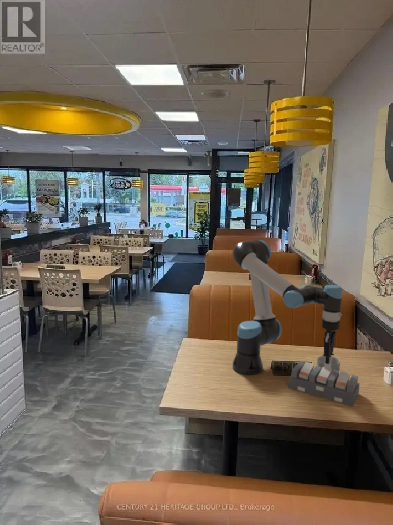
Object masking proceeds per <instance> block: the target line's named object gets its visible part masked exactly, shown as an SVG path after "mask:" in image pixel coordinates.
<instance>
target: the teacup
mask: <svg viewBox="0 0 393 525" xmlns="http://www.w3.org/2000/svg"><path fill="white" fill-rule="evenodd" d="M324 360H325V356H323V354H322V355H320V356H318V357H317V358H316V363H317V364H316V366H319V367H321V369H322V367H324ZM340 367H341V360H340V359H339V358H337V357H335V356H332V361H331V369H332V372H333V371H334V370H335V371H339V372H340V371H341V370H340V369H341V368H340ZM332 372H331V374H332ZM331 374H330V375H331Z"/></svg>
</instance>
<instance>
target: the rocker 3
mask: <svg viewBox="0 0 393 525" xmlns="http://www.w3.org/2000/svg"><path fill="white" fill-rule="evenodd" d="M350 378H351V372H350V371H346V370H339V377H338V379H337V382H336V384H335V388H339V389H343V390H345V389H346V386H347V383H348V380H350Z"/></svg>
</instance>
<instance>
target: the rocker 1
mask: <svg viewBox="0 0 393 525" xmlns="http://www.w3.org/2000/svg"><path fill="white" fill-rule="evenodd" d="M314 368H315V363H313V362H312V363H311V362H307V361H305V362H304V366H303V368H302V369H301V371H300V373H299V378H303V379H307V380H308V378H309V374H310V373H311V372H312V371H313V369H314Z"/></svg>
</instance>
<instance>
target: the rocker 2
mask: <svg viewBox="0 0 393 525" xmlns="http://www.w3.org/2000/svg"><path fill="white" fill-rule="evenodd" d="M331 372H332V369H330V370H329V369H325V368H324V367H322V369H321V371H320V373H319V375H318V377H317V382H320V383H324V384H326V383H327V381H328V378H329V376H330V374H331Z"/></svg>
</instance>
